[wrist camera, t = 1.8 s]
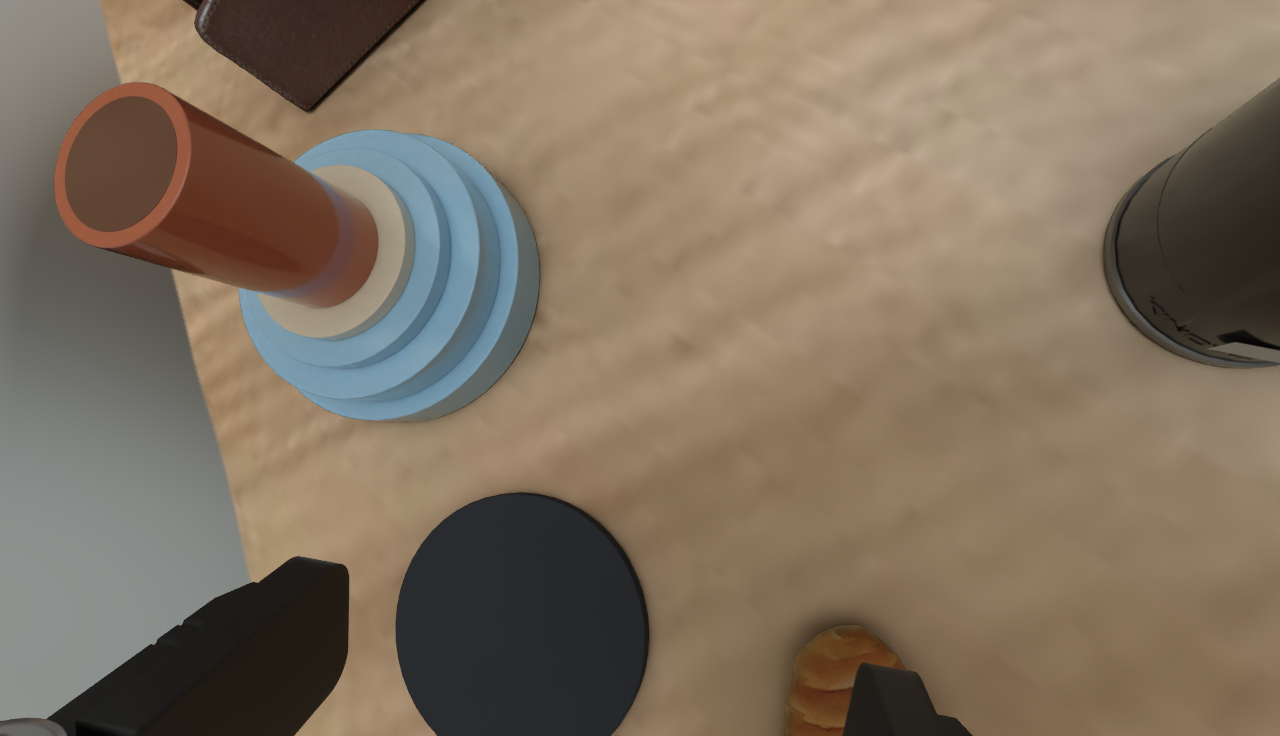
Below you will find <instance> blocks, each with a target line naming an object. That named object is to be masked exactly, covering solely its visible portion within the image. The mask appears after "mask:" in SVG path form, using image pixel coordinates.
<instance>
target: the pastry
mask: <svg viewBox="0 0 1280 736" xmlns="http://www.w3.org/2000/svg"><path fill="white" fill-rule="evenodd" d="M863 662H865V663H870V664H875V665H881V666H886V667H892V668H897V669H902V670H906V669H905V668H904V666H903V664H902V663H901V662H900V660H899V658H898V656H897V655H896V654H895V653H894V652H893V651H892V650H890V649H889V648H888V647H887V646H886V645H885V644H884V643H883V642H882V641H881V640H880V639H879V638H878V637H877V636H876V635H875V634H873V633H872V632H871V631H869V630H868V629H866V628H864V627H862V626H859V625H842V626H836V627H833V628H831V629H829V630H827V631H824V632H821V633H819V634H817V635H816V636H814V637H813V638H812V639H811V640H810V642H809V643H808V644H807V645H806V646H805V647H804V648H803V649H802V650H801V651H800V652H799V653H798V654H797V655H796V657H795V662H794V670H793V681H792V686H791V689H790V692H789V694H788V697H787V700H786V710H785V719H786V727H785V735H784V736H842V735H843V730H844V726H845V721H846V717H847V712H848V708H849V704H850V699H851V695H852V690H853V686H854V681H855V677H856V673H857V670H858V668H859V666H860V664H861V663H863Z"/></svg>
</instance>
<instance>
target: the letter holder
mask: <svg viewBox="0 0 1280 736" xmlns="http://www.w3.org/2000/svg"><path fill="white" fill-rule="evenodd" d="M183 1H185V2H186V3H187V4H189V5H190V6H191V7H193V8H194V9H195V10H197V14H196V18H195V23H194V24H195V28H196V30H197V32H198V34H199V35H200V37H201V38H202V39H203V40H204V41H205V42H206V43H207V44H208V45H210V46H211V47H212V48H213V49H214V50H216V51H217V52H219V53H220V54H222V55H224V56H225V57H227V58H228V59H230V60H231V61H233V62H234V63H236V64H237V65H238V66H240V67H241V68H243V69H245V70H246V71H248V72H249V73H250V74H252V75H253V76H255V77H256V78H257V79H259V80H260V81H262V82H263V83H264V84H266V85H267V86H268V87H270V88H271V89H272V90H274V91H275V92H277V93H279V94H280V95H281V96H282V97H284V98H285V99H286V100H288V101H290V102H291V103H293V104H295V105H296V106H297V107H299V108H300V109H302V110H304V111H306V112H307V111H309V110H310V109H311V108H312V106H313V105H314V104H315V103H316V102H317V101H318V100H320V98H321V97H322V96H324V95H325V94H326V93H327V91H328V90H329V89H330V88H332V87H333V86H334V85H335V84H336V83H337V82H338V81H339V80H340V79H341V78H343V77H344V75H345V74H346V73H347V72H348V71H349V70H350V69H351V68H352V67H354V65H355V64H356V63H357V62H358V61H359V60H360V59H361V58H362V57H364V55H365V54H366V53H368V52H369V51H370V50H371V49H372V47H373V46H374V45H375V44H376V43H378V41H380V40H381V39H382V37H383V36H384V35H385V34H387V33H388V32H389V31H390V30H391V29H392V28H393V27H394V26H395V25H396V24H397V23H398V22H399V21H400V20H401V19H403V17H404V16H405V15H406V14H407V13H408V12H409V11H410V10H411V9H412V8H413V7H414V6H415V5H417V4H418V2H419V1H420V0H183Z"/></svg>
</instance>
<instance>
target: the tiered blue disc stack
mask: <svg viewBox="0 0 1280 736" xmlns="http://www.w3.org/2000/svg"><path fill="white" fill-rule="evenodd" d="M294 163H296V164H298V165H299V166H301V167H303V168H305V169H306V170H308V171H310V172H312V173H313V174H315V175H317V176H319V177H320V178H322V179H324V180H326V181H327V182H329V183H331V184H333V185H335V186H336V187H338V188H340V189H342V190H343V191H345V192H347V193H349V194H350V195H352V196H354V197H355V198H357V199H358V200H360V201H361V202H362V203H363V204H364V205H365V206H366V207H367V209H368V210H369V212H370V213H371V215H372V217H373V219H374V222H375V225H376V228H377V234H378V250H377V256H376V260H375V263H374V266H373V269H372V271H371V273H370V275H369V277H368V278H367V280H366V282H365V283H364V284H363V286H362V287H361V288H360V289H359V290H358V291H357V292H356V293H355V294H354V295H353V296H351V297H350V298H349V299H347V300H346V301H344V302H342V303H340V304H338V305H335V306H332V307H328V308H309V307H305V306H302V305H298V304H295V303H291V302H288V301H284V300H281V299H277V298H274V297H270V296H266V295H263V294H259V293H256V292H252V291H249V290H245V289H242V288H239V298H240V306H241V311H242V315H243V319H244V323H245V325H246V328H247V331H248V334H249V336H250V338H251V340H252V342H253V344H254V346H255V348H256V350H257V351H258V352H259V354H260V355H261V357H262V358H263V359H264V361H265V362H266V363H267V364H268V365H269V366H270V367H271V368H272V370H273V371H274V372H275V373H276V374H278V375H279V376H280V377H282V378H283V379H284V380H285V381H287V382H288V383H289V384H291V385H293V386H295V387H296V389H297V390H298V391H299V392H300V393H302V394H303V395H304V396H306V397H307V398H308V399H309V400H311V401H312V402H313V403H315V404H317V405H319V406H320V407H322V408H324V409H326V410H328V411H330V412H333V413H336V414H338V415H341V416H344V417H349V418H354V419H358V420H372V421H390V422H417V421H426V420H430V419H434V418H438V417H441V416H444V415H446V414H449V413H451V412H454V411H457V410H458V409H460V408H462V407H464V406H465V405H467V404H469V403H471V402H472V401H474V400H475V399H476V398H478V397H479V396H480V395H482V394H483V393H484V392H486V391H487V390H488V389H489V388H490V387H491V386H492V385H493V384H494V383H495V382H496V381H497V380H498V379H499V378H500V377H501V376H502V375H503V373H504V372H505V371H506V370H507V368H508V367H509V366H510V365H511V363H512V362H513V360H514V359H515V357H516V355H517V354H518V352H519V350H520V349H521V347H522V345H523V343H524V341H525V339H526V336H527V334H528V332H529V330H530V327H531V323H532V320H533V317H534V314H535V310H536V305H537V300H538V295H539V281H540V270H539V256H538V251H537V246H536V241H535V237H534V234H533V231H532V228H531V225H530V223H529V221H528V219H527V217H526V215H525V213H524V211H523V209H522V207H521V206H520V204H519V203H518V202H517V200H516V199H515V197H514V196H513V195H512V193H511V192H510V191H509V190H508V189H507V188H506V187H505V186H504V185H503V184H502V183H501V182H500V181H499V180H498V179H497V178H496V177H495V176H493V175H492V174H491V173H490V172H489V171H488V170H487V169H486V168H485V167H483V166H482V165H481V164H480V163H479V162H478V161H477V160H475V159H474V158H473V157H472V156H470V155H469V154H468V153H467V152H465V151H463V150H461V149H460V148H458V147H456V146H454V145H453V144H450V143H448V142H445V141H443V140H440V139H438V138H434V137H429V136H425V135H419V134H405V133H398V132H394V131H388V130H361V131H355V132H350V133H346V134H342V135H339V136H336V137H334V138H331V139H328V140H326V141H324V142H322V143H320V144H318V145H316V146H314V147H313V148H311V149H310V150H308V151H307V152H305V153H304V154H302V155H301V156H300V157H298V158H297V159H296V160H295V161H294Z"/></svg>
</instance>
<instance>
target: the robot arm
mask: <svg viewBox="0 0 1280 736" xmlns="http://www.w3.org/2000/svg"><path fill="white" fill-rule="evenodd" d="M1104 260H1105V269H1106V274H1107V278H1108V281H1109V284H1110V287H1111V290H1112V292H1113V294H1114V296H1115V298H1116V300H1117V302H1118V304H1119V305H1120V307H1121V308H1122V310H1123V311H1124V312H1125V314H1126V315H1127V317H1128V318H1129V319H1130V320H1131V321H1132V322H1133V323H1134V324H1135V325H1136V326H1137V327H1138V328H1139V329H1140V330H1141V331H1142V332H1143V333H1144V334H1146V335H1147V336H1148V337H1150V338H1151V339H1152V340H1153V341H1155V342H1156V343H1158V344H1160V345H1161V346H1163V347H1164V348H1166V349H1168V350H1170V351H1172V352H1174V353H1176V354H1178V355H1181V356H1183V357H1186V358H1188V359H1191V360H1195V361H1198V362H1201V363H1205V364H1210V365H1214V366H1221V367H1228V368H1260V367H1270V366H1276V365H1280V78H1279V79H1277V80H1276V81H1275V82H1273V83H1272V84H1271V85H1269V86H1268V87H1267V88H1265V89H1264V90H1263V91H1261V92H1260V93H1259V94H1257V95H1256V96H1255V97H1253V98H1252V99H1251V100H1249V101H1248V102H1247V103H1245V104H1244V105H1243V106H1241V107H1240V108H1239V109H1237V110H1236V111H1234V112H1233V113H1232V114H1230V115H1229V116H1228V117H1226V118H1225V119H1224V120H1222V121H1221V122H1220V123H1218V124H1217V125H1216V126H1214V127H1213V128H1211V129H1210V130H1208V131H1207V132H1206V133H1204V134H1203V135H1202V136H1200V137H1199V138H1198V139H1196V140H1195V141H1194V142H1192V143H1191V144H1190V145H1188V146H1187V147H1186V148H1184V149H1183V150H1182V151H1180V152H1179V153H1178V154H1176V155H1174V156H1172V157H1170V158H1168V159H1167V160H1165V161H1164V162H1162V163H1161V164H1159V165H1158V166H1156V167H1155V168H1153V169H1152V170H1151V171H1150V172H1148V173H1147V174H1146V175H1144V176H1143V177H1142V178H1141V179H1140V180H1138V181H1137V182H1136V183H1135V184H1134V185H1133V186H1132V187H1131V188H1130V190H1129V191H1128V192H1127V193H1126V194H1125V196H1124V197H1123V198H1122V200H1121V201H1120V203H1119V204H1118V206H1117V208H1116V210H1115V212H1114V214H1113V215H1112V218H1111V221H1110V223H1109V226H1108V230H1107V233H1106V239H1105V246H1104ZM348 626H349V573H348V570H347V568H346V566H344V565H343V564H338V563H333V562H327V561H322V560H317V559H311V558H306V557H300V556H296V557H293V558H291V559H289V560H288V561H287V562H285V563H284V564H283V565H281V566H280V567H279V568H277V569H276V570H275V571H273V572H272V573H271V574H269V575H268V576H267V577H265V578H264V579H263V580H261V581H260V582H259V583H255V582H252V583H249V584H247V585H245V586H242V587H240V588H238V589H235V590H233V591H231V592H228V593H226V594H224V595H221V596H219V597H216V598H214V599H213V600H212V601H210V602H209V603H207V604H206V605H205V606H203V607H202V608H200V609H199V610H198V611H196V612H195V613H193V614H192V615H191V616H189V617H188V618H187V619H185V620H184V622H183V624H182V625H181V626H180V625H177V626H175V627H174V628H173V629H171V630H170V631H168V632H167V633H165V634H164V635H163V636H161V637H160V638H159V639H158V640H157V643H156V644H155V645H152V644H150V645H149V646H147V647H146V648H145V649H143V650H142V651H141V652H139V653H138V654H136V655H135V656H134V657H132V658H131V659H129V660H128V661H127V662H125V663H124V664H122V665H121V666H119V667H118V668H117V669H115V670H114V671H113V672H111V673H110V674H108V675H107V676H106V677H104V678H103V679H101V680H100V681H99V682H97V683H96V684H95V685H93V686H92V687H90V688H89V689H87V690H86V691H85V692H83V693H82V694H81V695H79V696H78V697H76V698H75V699H73V700H72V701H71V702H69V703H68V704H66V705H65V706H64V707H62V708H61V709H59V710H58V711H57V712H55V713H54V714H53V715H51V716H50V717H48V718H47V719H41V718H20V719H11V720H6V721H0V736H294V735H295V734H296V733H297V732H298V731H299V729H300V728H301V727H302V726H303V725H304V724H305V722H306V721H307V720H308V719H309V718H310V717H311V715H312V714H313V713H314V712H315V711H316V709H317V708H318V707H319V706H320V705H321V704H322V702H323V701H324V700H325V699H326V698H327V697H328V695H329V694H330V693H331V692H332V690H333V689H334V687H335V686H336V684H337V682H338V680H339V678H340V676H341V674H342V671H343V669H344V666H345V663H346V659H347V653H348ZM842 736H972V735H971V734H970V733H969V731H968V730H967V729H966V728H965V727H964V726H963V725H962V724H961V723H960V722H959V721H958V720H957V719H956V718H953V717H948V716H942V715H937V714H936V711H935V709H934V707H933V705H932V702H931V700H930V698H929V696H928V693H927V691H926V689H925V686H924V684H923V682H922V680H921V678H920V676H919V675H918V674H917V673H916V672H913V671H908V670H902V669H897V668H892V667H886V666H881V665H875V664H870V663H865V662H863V663H861V664H860V666H859V668H858V670H857V673H856V677H855V681H854V686H853V690H852V695H851V699H850V704H849V708H848V712H847V717H846V721H845V726H844V730H843V735H842Z"/></svg>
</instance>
